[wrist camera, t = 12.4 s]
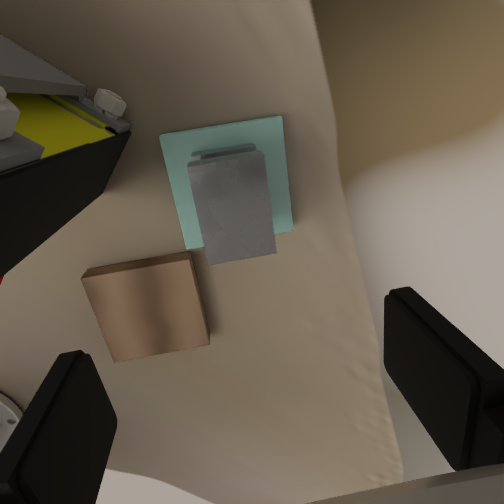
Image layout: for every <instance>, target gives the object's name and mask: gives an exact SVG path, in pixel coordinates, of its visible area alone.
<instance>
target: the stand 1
mask: <svg viewBox="0 0 504 504" xmlns="http://www.w3.org/2000/svg"><path fill="white" fill-rule="evenodd" d="M81 281H82V283H83V286H84V288H85V291H86V293H87V296H88V298H89V301H90V303H91V306H92V308H93V311H94V313H95V316H96V318H97V321H98V323H99V326H100V328H101V331H102V333H103V336H104V338H105V341H106V343H107V346H108V348H109V351H110V353H111V356H112V358H113V361H114V363H115V362H120V361H125V360H131V359H136V358H141V357H147V356H152V355H157V354H163V353H168V352H173V351H179V350H184V349H190V348H195V347H200V346H206V345H210V332H209V328H208V323H207V319H206V315H205V311H204V307H203V303H202V298H201V294H200V290H199V286H198V282H197V278H196V274H195V269H194V265H193V261H192V257H191V253H190V251H187V252H181V253H176V254H170V255H164V256H159V257H153V258H147V259H142V260H136V261H130V262H124V263H119V264H113V265H107V266H102V267H96V268H90V269H87V271H86V272H85V273H84V275H83V276H82V277H81Z"/></svg>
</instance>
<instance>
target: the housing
mask: <svg viewBox="0 0 504 504" xmlns="http://www.w3.org/2000/svg"><path fill="white" fill-rule="evenodd" d="M191 160H192V161H190V162H188V165H187V171H188V176H189V180H190V185H191V189H192V194H193V199H194V203H195V208H196V212H197V217H198V221H199V226H200V231H201V235H202V240H203V244H204V249H205V253H206V258H207V262H208V265H212V264H218V263H224V262H229V261H235V260H241V259H246V258H252V257H258V256H263V255H269V254H275V253H277V251H276V243H275V235H274V227H273V219H272V211H271V203H270V195H269V187H268V179H267V171H266V163H265V155H264V153H263V152H262V151H261V150H256V146H255V145H254V144H253V143H247V144H241V145H235V146H229V147H223V148H217V149H210V150H204V151H198V152H192V155H191Z"/></svg>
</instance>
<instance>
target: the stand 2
mask: <svg viewBox="0 0 504 504" xmlns="http://www.w3.org/2000/svg"><path fill="white" fill-rule="evenodd" d="M159 140H160V144H161V148H162V152H163V156H164V160H165V164H166V168H167V173H168V177H169V181H170V185H171V189H172V193H173V197H174V201H175V205H176V209H177V213H178V217H179V222H180V226H181V230H182V234H183V238H184V242H185V246H186V250H188V249H194V248H199V247H204V244H203V240H202V235H201V231H200V226H199V221H198V217H197V212H196V208H195V203H194V199H193V194H192V189H191V185H190V180H189V176H188V171H187V165H188V162H190V161H192V160H191V155H192V152H198V151H204V150H210V149H217V148H223V147H229V146H235V145H241V144H247V143H253V144H254V145H255V146H256V150H261V151H262V152H263V153H264V155H265V163H266V171H267V179H268V187H269V195H270V203H271V211H272V219H273V227H274V234H279V233H285V232H291V231H293V222H292V212H291V202H290V192H289V182H288V172H287V162H286V152H285V143H284V133H283V123H282V116H278V115H277V116H271V117H264V118H258V119H252V120H246V121H240V122H233V123H227V124H221V125H215V126H209V127H203V128H196V129H190V130H184V131H178V132H172V133H165V134H161V135H160V136H159Z"/></svg>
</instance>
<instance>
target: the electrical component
mask: <svg viewBox="0 0 504 504" xmlns="http://www.w3.org/2000/svg"><path fill="white" fill-rule="evenodd" d="M86 89H87V86H85V85H83V84H82V83H80V82H79V81H77V80H75V79H74V78H72V77H70V76H69V75H67V74H65V73H64V72H62V71H60V70H59V69H57V68H55V67H54V66H52V65H50V64H49V63H47V62H45V61H44V60H42V59H40V58H39V57H37V56H36V55H34V54H32V53H31V52H29V51H27V50H26V49H24V48H22V47H21V46H19V45H17V44H16V43H14V42H12V41H11V40H9V39H7V38H6V37H4V36H2V35H1V34H0V284H1V282H2V279H3V277H4V275H5V274H6V273H7V272H8V271H9V270H11V269H12V268H13V267H14V266H15V265H17V264H18V263H19V262H20V261H21V260H23V259H24V258H25V257H26V256H28V255H29V254H30V253H31V252H32V251H34V250H35V249H36V248H37V247H38V246H40V245H41V244H42V243H43V242H44V241H46V240H47V239H48V238H49V237H50V236H52V235H53V234H54V233H55V232H57V231H58V230H59V229H60V228H61V227H63V226H64V225H65V224H66V223H67V222H69V221H70V220H71V219H72V218H73V217H75V216H76V215H77V214H78V213H79V212H81V211H82V210H83V209H84V208H86V207H87V206H88V205H89V204H90V203H92V202H93V201H94V200H95V199H96V198H98V197H99V196H100V195H101V194H102V193H103V191H104V189H105V187H106V185H107V183H108V181H109V178H110V176H111V174H112V172H113V170H114V168H115V166H116V164H117V162H118V160H119V158H120V155H121V153H122V151H123V149H124V147H125V145H126V143H127V141H128V139H129V137H130V135H131V132H130V131H128V130H129V128H130V126H131V124H130V123H128V122H127V121H125V120H123V119H122V118H120V117H122V115H123V113H124V111H125V108H126V106H127V105H126V102H124V101H123V100H122V99H121V97H120V96H118V95H117V94H115V93H113V92H112V91H110V90H105V89H100V88H98V90H97V92H96V94H95V97H94V99H93V100H94V102H93V101H91V100H90V99H88V98H86V97H85V94H86ZM119 116H120V117H119Z"/></svg>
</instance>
